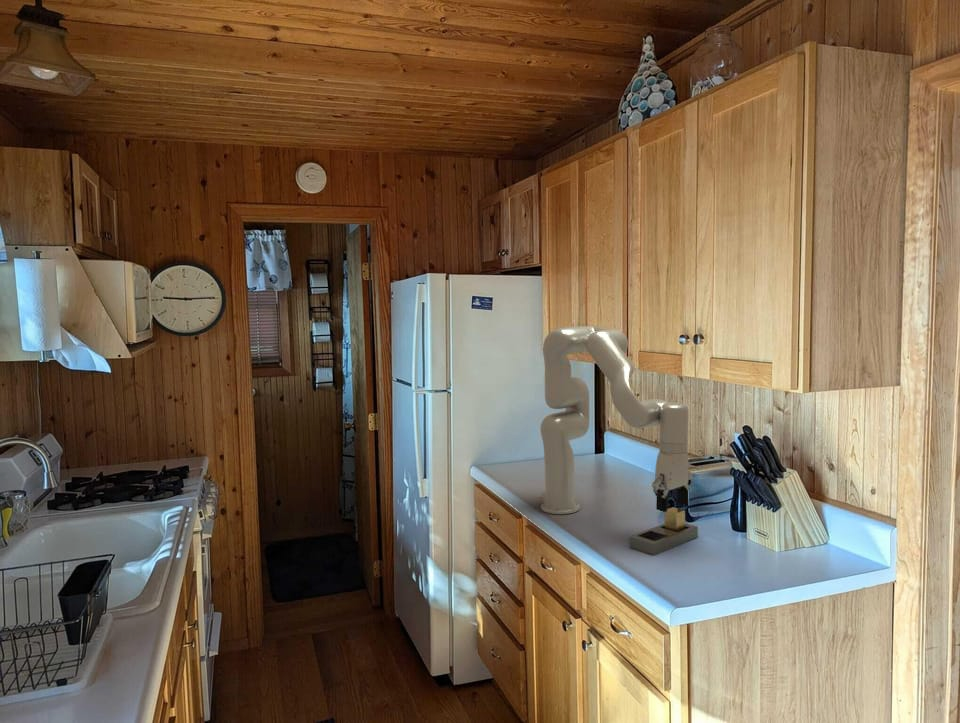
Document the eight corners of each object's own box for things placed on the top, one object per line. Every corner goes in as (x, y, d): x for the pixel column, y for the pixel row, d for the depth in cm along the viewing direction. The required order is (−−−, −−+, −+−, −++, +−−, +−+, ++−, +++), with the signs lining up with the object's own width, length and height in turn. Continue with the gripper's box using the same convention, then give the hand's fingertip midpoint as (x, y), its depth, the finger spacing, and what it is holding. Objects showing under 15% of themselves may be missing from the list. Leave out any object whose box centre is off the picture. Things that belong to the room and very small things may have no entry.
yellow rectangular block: (664, 537, 192) (664, 510, 191) (673, 534, 194) (672, 507, 194) (676, 541, 189) (676, 513, 188) (685, 538, 191) (684, 510, 190)
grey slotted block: (629, 547, 185) (629, 536, 185) (673, 530, 198) (673, 520, 197) (653, 555, 179) (653, 544, 179) (697, 537, 191) (697, 526, 191)
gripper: (680, 440, 198) (679, 497, 199) (642, 449, 187) (642, 510, 189) (703, 445, 192) (701, 503, 194) (665, 454, 181) (664, 517, 183)
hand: (672, 507), depth 191 cm, fingers open, 9 cm apart
